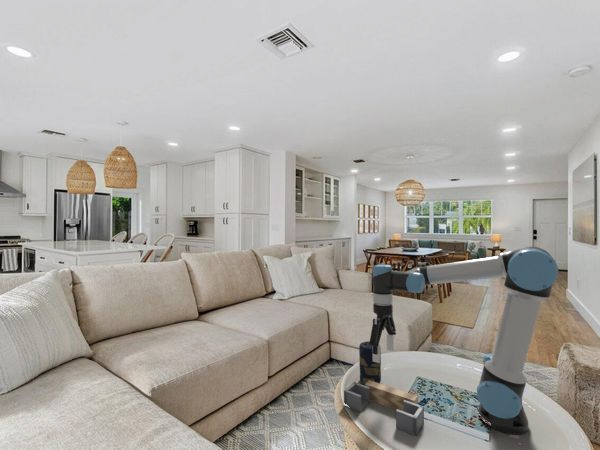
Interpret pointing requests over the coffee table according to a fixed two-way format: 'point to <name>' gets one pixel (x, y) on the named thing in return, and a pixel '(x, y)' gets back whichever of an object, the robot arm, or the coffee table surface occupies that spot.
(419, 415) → the endcap
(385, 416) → the coffee table surface
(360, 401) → the endcap
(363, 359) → the canister
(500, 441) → the coffee table surface
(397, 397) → the slat
